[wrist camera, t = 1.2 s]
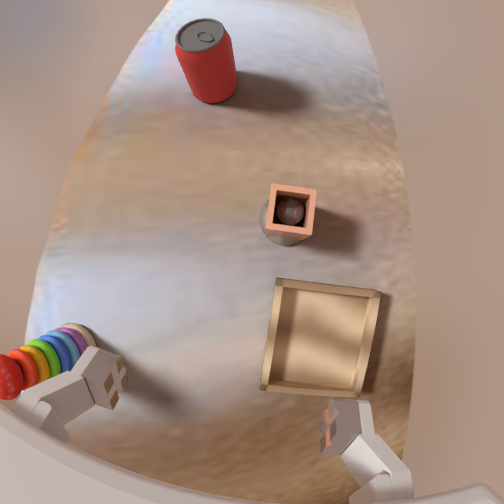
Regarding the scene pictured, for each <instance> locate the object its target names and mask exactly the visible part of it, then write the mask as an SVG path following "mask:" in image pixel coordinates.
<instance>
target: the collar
mask: <svg viewBox="0 0 504 504" xmlns="http://www.w3.org/2000/svg"><path fill="white" fill-rule="evenodd" d="M316 193H317V190H314V189H307V188H301V187H294V186H287V185H280V184H272V183H271V190H270V198H269V206H268V213H267V221H266V228H265V235H270V236H277V237H284V238H292V239H299V240H304V239H306V238H307V237H309V236H311V235H312V229H313V221H314V212H315V202H316ZM288 198H292V199H295V200H297V201H299V202H300V203H301V205H302V207H303V210H304V214H303V217H302V219H301V220H300V227H295V226H288V225H280V224H273V223H272V222H273V215H274V207H275V203H277V204H279V203H280V202H281V201H283V200H284V199H288Z"/></svg>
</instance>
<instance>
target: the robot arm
mask: <svg viewBox="0 0 504 504" xmlns="http://www.w3.org/2000/svg"><path fill="white" fill-rule="evenodd" d="M124 364H125V360H124V357H123V356H120V355H117V354H114V353H111V352H108V351H106V350H103V349H100V348H97V347H95V346H92V345H90V346H89V347H87V349H86V350H85V351H84V353H83V354H82V356H81V357H80V359H79V360H78V361H77V363H76V364H75V366H74V367H73V369H72V370H71V372H70V371H66V372H64V373H61V374H59V375H57V376H55V377H53V378H50V379H48V380H46V381H44V382H41V383H39V384H37V385H35V386H32V387H30V388H28V389H26V390H25V391H24V392H23V393H22V395H21V396H20V398H19V399H18V401H17V402H16V403H15V405H14V407H13V408H12V409H11V411H10V410H8V409H7V408H5V407H4V406H3V405H1V404H0V504H282V503H271V502H261V501H253V500H246V499H239V498H233V497H227V496H221V495H216V494H211V493H206V492H201V491H197V490H193V489H189V488H185V487H181V486H177V485H173V484H170V483H166V482H163V481H159V480H156V479H153V478H150V477H146V476H143V475H140V474H138V473H135V472H132V471H129V470H126V469H124V468H121V467H118V466H116V465H113V464H111V463H108V462H106V461H103V460H101V459H99V458H96V457H94V456H92V455H89V454H87V453H85V452H83V451H81V450H79V449H77V448H75V447H72V446H70V445H68V444H67V442H68V440H69V438H70V435H69V433H68V432H67V430H66V429H65V427H64V425H65V424H67V423H68V422H70V421H71V420H73V419H74V418H76V417H78V416H79V415H81V414H82V413H84V412H85V411H87V410H88V409H90V408H91V407H93V406H94V405H95V404H96V405H99V406H102V407H105V408H107V409H110V410H113V409H114V407H115V405H116V403H117V401H118V400H119V396H118V393H119V392H121V391H123V390H124V388H125V386H126V382H127V379H128V373H127V369H126V368H125V367H124ZM328 404H329V408H327V409H325V410H324V412H323V414H322V418H321V423H320V431H321V432H322V434H323V437H322V438H321V440H320V448H321V454H329V455H341V458H342V460H343V461H344V463H345V464H346V466H347V467H348V469H349V471H350V472H351V474H352V475H353V477H354V478H355V480H356V482H357V483H358V485H359V486H360V489H359V490H357V491H356V492H355V493H353V494H352V495H351V496H350V497H349V504H504V499H503V498H502V497H501V496H500V495H498V494H497V493H496V492H495V491H494V490H493V489H492V488H491V487H489V486H488V485H486V484H485V483H477V484H472V485H469V486H466V487H462V488H458V489H455V490H451V491H446V492H442V493H437V494H432V495H427V496H422V497H416V498H414V491H413V484H412V477H411V471H410V470H409V469H408V468H407V467H406V466H405V464H404V463H403V462H402V461H401V460H400V459H399V458H398V456H397V455H396V454H395V453H394V452H393V451H392V450H391V448H390V447H389V446H388V445H387V444H386V443H385V442H384V440H383V439H382V438H381V437H380V436H379V435H377V434H375V430H374V424H373V418H372V412H371V406H370V402H369V401H365V400H352V399H335V398H332V399H331V400H330V402H329V403H328Z"/></svg>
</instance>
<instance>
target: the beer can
mask: <svg viewBox="0 0 504 504" xmlns="http://www.w3.org/2000/svg"><path fill="white" fill-rule="evenodd" d="M175 41H176V47H175V52H176V55H177V58H178V60H179V62H180V65H181V67H182V69H183V72H184V74H185V76H186V79H187V81H188V83H189V86H190V88H191V90H192V92H193V95H194V96H195V97H196V98H197V99H198V100H201V101H203V102H207V103H216V102H221V101H223V100H226V99H227V98H228V97H230V96H231V95H232V94H233V93H234V91H235V90H236V87H237V84H238V83H237V75H236V68H235V62H234V55H233V49H232V43H231V38H230V36H229V34H228V33H227V31H226V30H225V28H224V26H223V25H222V23H220V22H219V21H217V20H214V19H206V18H203V19H197V20H194V21H191V22H189V23H187V24H185V25H184V26H182V27H181V28H180V30H179V31H178V32H177V34H176V38H175Z"/></svg>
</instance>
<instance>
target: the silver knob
mask: <svg viewBox="0 0 504 504" xmlns="http://www.w3.org/2000/svg"><path fill="white" fill-rule="evenodd" d="M268 206H269V200H268V201H267V202H266V203H265V204H264V206H263V208H262V210H261V214H260V224H261V228H262V230H263V232H264V234H265V228H266V221H267V213H268ZM303 214H304V210H303V207H302V205H301V203H300V202H299V201H297V200H295V199H292V198H288V199H284V200H283V201H281V202H280V203H279V204H277V203H275V207H274V215H273V222H272V223H273V224H280V225H288V226H295V227H300V220H301V219H302V217H303ZM266 236H267V237H268V238H269V239H270V240H271V241H273V242H275V243H277V244H280V245H293V244H296V243H298V242H300V241H301V240H299V239H292V238H284V237H277V236H270V235H266Z"/></svg>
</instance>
